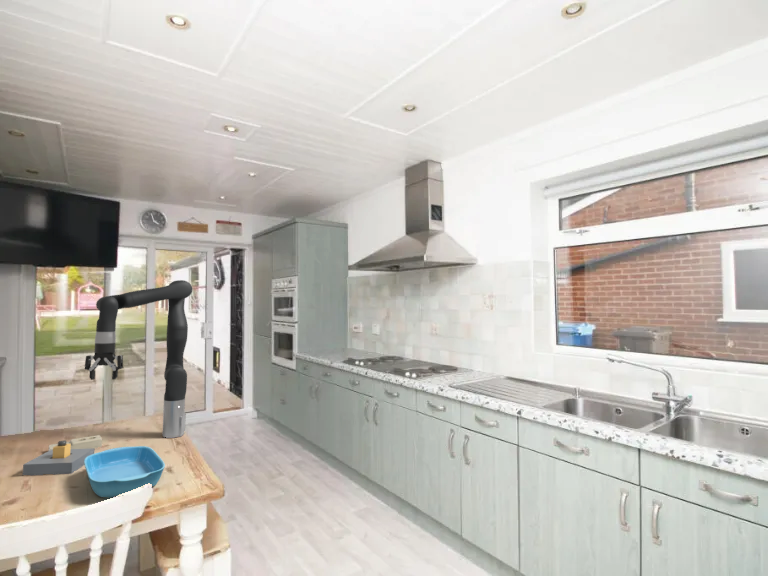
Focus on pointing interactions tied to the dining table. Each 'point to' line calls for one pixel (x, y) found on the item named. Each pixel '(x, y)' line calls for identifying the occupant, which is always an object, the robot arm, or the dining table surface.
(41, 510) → the dining table surface
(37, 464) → the socket
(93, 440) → the electrical outlet
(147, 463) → the casserole dish
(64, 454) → the plug
